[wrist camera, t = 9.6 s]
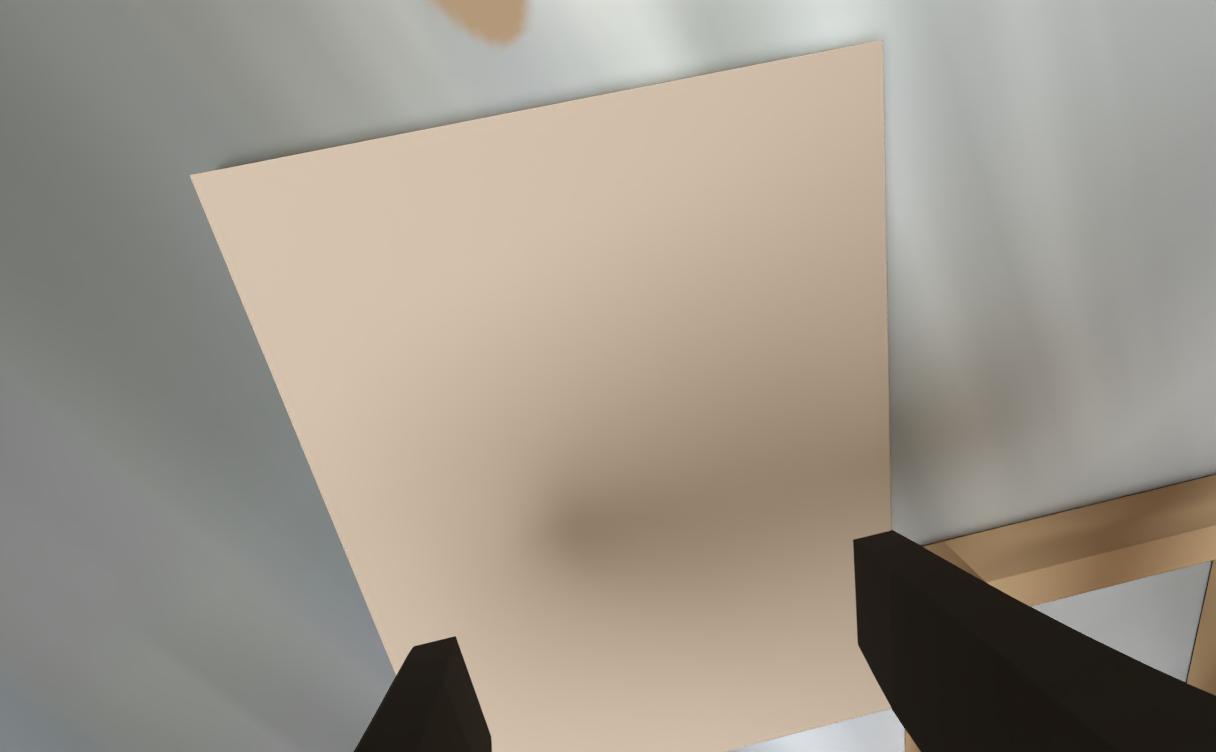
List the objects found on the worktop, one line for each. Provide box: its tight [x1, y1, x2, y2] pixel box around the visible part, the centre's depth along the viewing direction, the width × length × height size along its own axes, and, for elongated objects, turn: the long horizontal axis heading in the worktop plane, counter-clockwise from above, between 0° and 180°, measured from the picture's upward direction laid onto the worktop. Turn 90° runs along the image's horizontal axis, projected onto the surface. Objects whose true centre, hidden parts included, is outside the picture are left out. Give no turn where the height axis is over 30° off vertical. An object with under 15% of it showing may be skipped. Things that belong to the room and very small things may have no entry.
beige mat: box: [190, 40, 891, 752], centre depth 13 cm, size 11×15×1 cm
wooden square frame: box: [905, 475, 1216, 752], centre depth 17 cm, size 10×11×2 cm
